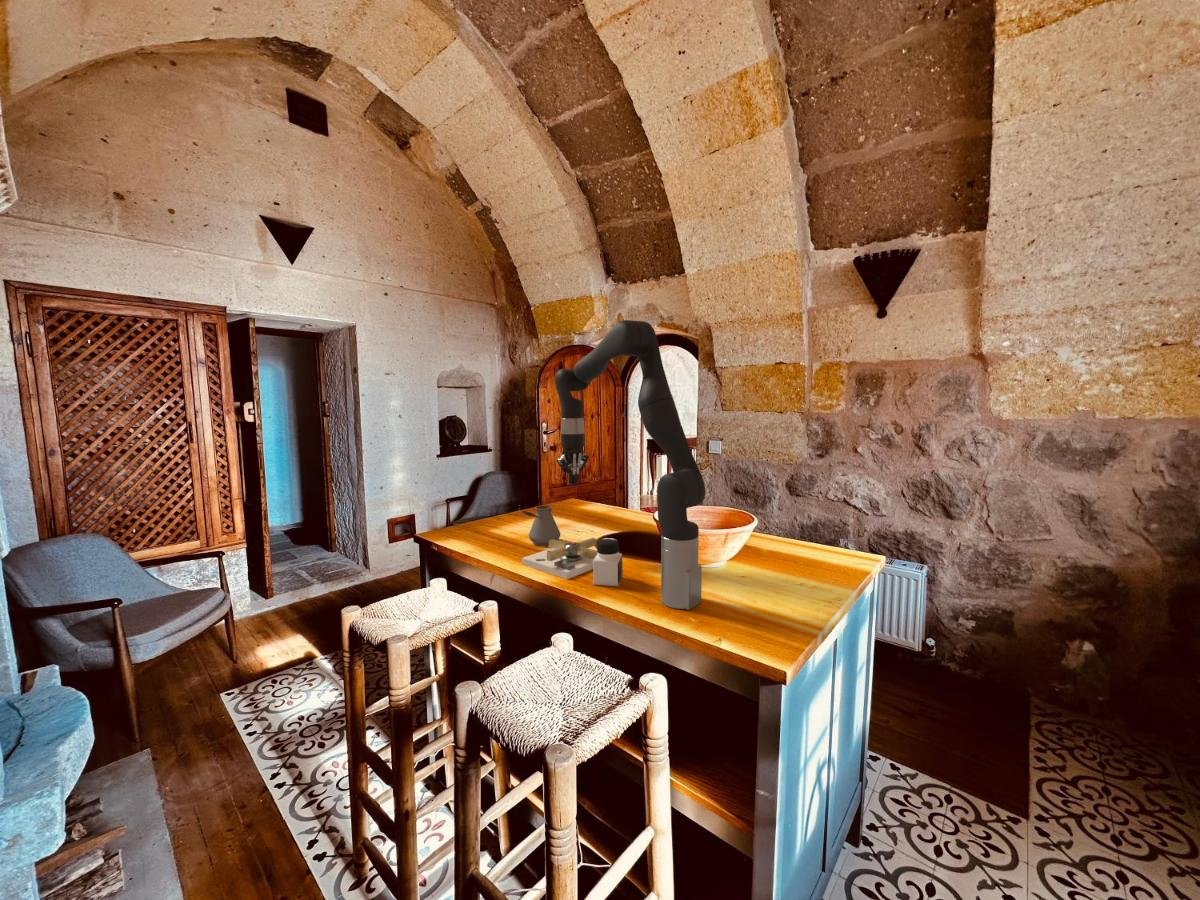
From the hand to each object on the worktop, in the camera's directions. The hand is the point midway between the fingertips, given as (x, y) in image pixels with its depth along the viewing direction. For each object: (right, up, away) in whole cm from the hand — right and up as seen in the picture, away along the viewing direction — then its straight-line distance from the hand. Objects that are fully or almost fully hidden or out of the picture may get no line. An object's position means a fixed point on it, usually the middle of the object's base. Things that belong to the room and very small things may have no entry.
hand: (573, 485), depth 160 cm
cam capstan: (0, -22, -7) cm, 23 cm away
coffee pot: (-13, -23, +13) cm, 29 cm away
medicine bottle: (+11, -26, -20) cm, 34 cm away
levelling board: (-2, -24, -5) cm, 25 cm away
